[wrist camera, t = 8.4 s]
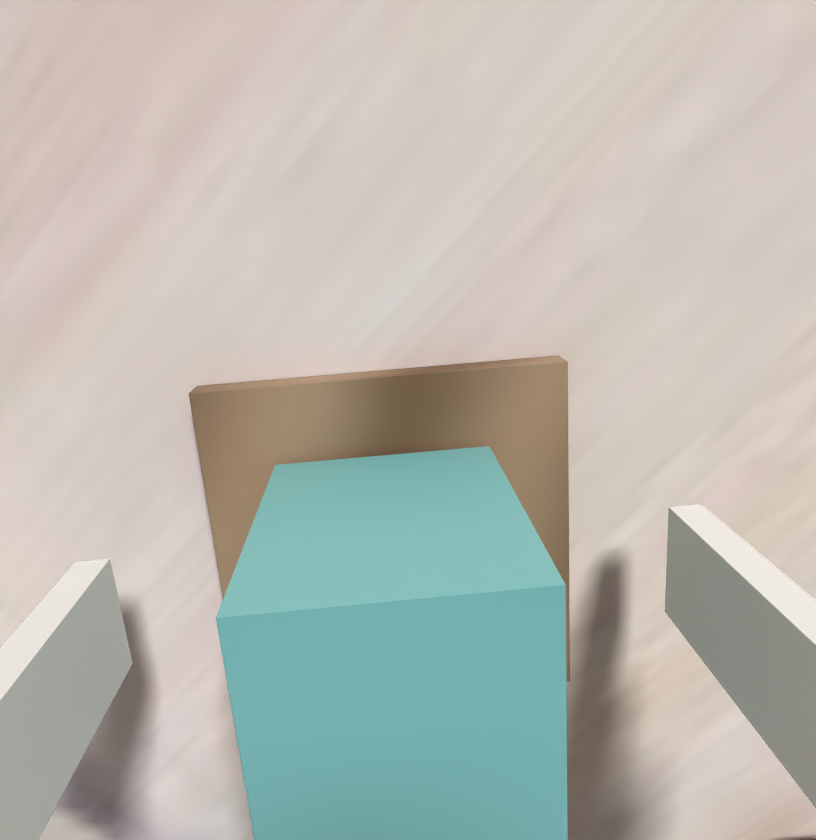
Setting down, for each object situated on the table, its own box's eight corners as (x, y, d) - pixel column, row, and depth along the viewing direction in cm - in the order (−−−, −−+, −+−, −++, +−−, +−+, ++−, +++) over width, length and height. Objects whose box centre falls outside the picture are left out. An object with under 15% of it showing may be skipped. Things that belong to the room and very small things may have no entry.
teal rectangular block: (489, 445, 16) (565, 585, 10) (497, 631, 18) (567, 854, 12) (275, 464, 16) (215, 618, 10) (300, 651, 18) (262, 888, 11)
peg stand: (558, 355, 17) (683, 442, 10) (561, 663, 19) (663, 893, 13) (197, 385, 17) (81, 495, 10) (248, 694, 19) (183, 948, 12)
